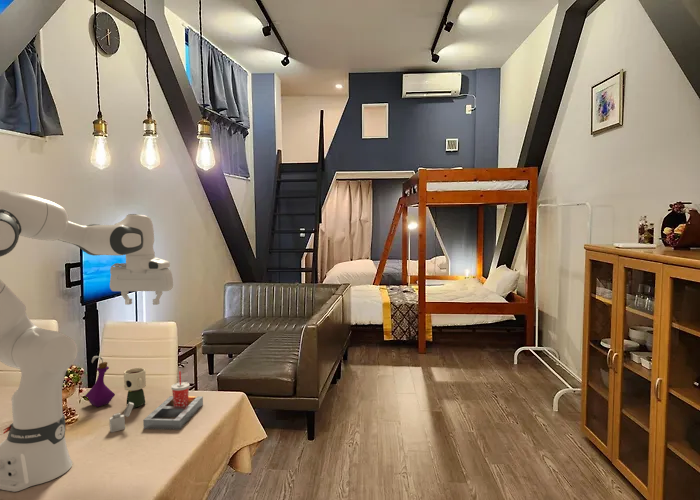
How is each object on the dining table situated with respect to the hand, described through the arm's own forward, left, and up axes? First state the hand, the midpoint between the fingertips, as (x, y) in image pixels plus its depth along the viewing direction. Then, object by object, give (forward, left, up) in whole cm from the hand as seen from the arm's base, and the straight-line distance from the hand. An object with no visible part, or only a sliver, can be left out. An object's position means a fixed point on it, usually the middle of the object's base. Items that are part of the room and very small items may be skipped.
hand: (142, 304), depth 156 cm
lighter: (-4, -8, -39) cm, 40 cm away
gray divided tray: (+9, +2, -39) cm, 40 cm away
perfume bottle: (-23, +11, -39) cm, 47 cm away
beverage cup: (+9, +7, -39) cm, 41 cm away
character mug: (-9, +10, -39) cm, 42 cm away
